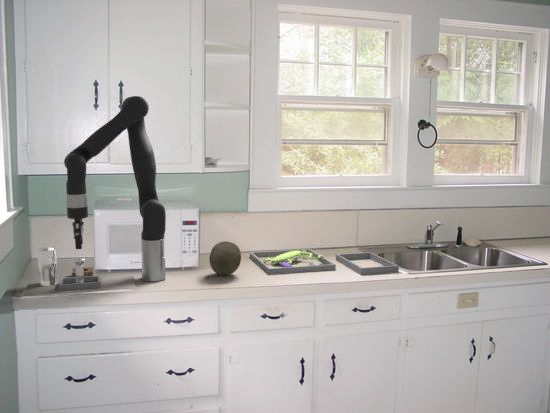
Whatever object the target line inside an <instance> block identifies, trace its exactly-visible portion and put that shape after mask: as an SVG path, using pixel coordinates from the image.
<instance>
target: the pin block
mask: <svg viewBox="0 0 550 413" xmlns="http://www.w3.org/2000/svg"><path fill="white" fill-rule="evenodd" d="M83 269H84V277H85V276H94V267H93V266H88V267H86V266H84V267H83ZM71 277H76V267H73V268H72V271H71Z"/></svg>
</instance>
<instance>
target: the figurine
mask: <svg viewBox="0 0 550 413" xmlns="http://www.w3.org/2000/svg"><path fill="white" fill-rule="evenodd" d="M302 254H303V255H302ZM305 255H307V256H308V258H309V259H310V260H317V259H319V258H321V257H322V258H323V257H324V255H323V254H319V256H318V257H312V255H313V254H312V253H308V252H306V251H305V250H303V251H302V252H301V251H291V252H287V253H284V254H281V255H279V256H274V258H271V256H270V257H267V258H266V259H264V260H262V261H263V262H264V263H265V264H266V263H267V262H270V261H271V262H272V263H275V264H276V265H280V266H281V267H293V261H292V260H291V259H294V258H295V257H299V258H300V257H301V256H302V257H304V256H305Z"/></svg>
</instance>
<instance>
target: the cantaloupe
mask: <svg viewBox="0 0 550 413" xmlns="http://www.w3.org/2000/svg"><path fill="white" fill-rule="evenodd" d="M208 261H209V264H210V268H211V269H212V271H213V272H214V273H215V274H216V275H218V276H221V277H227V276H229V275H232V274H234V273H235V272H236V271H237V270H238V269H239V267H240V265H241V261H242V253H241V249H240V247H239V246H238V245H237V244H236V243H234V242H232V241H220V242H218V243H216V244H215V245H214V246H213V247H212V248H211V251H210V254H209V260H208Z"/></svg>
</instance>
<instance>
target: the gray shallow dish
mask: <svg viewBox="0 0 550 413" xmlns="http://www.w3.org/2000/svg"><path fill="white" fill-rule="evenodd" d="M368 259H369V260H372V261H373V262H375V261H376V262H375V263H377V262H378V263H377V264H379V263H380V264H379V265H380V266H368V267H362V266H360V265H358V264H356V263H354V262H352V260H353V261H354V260H368ZM335 261H336V262H338V263H339V264H341V265H343V266H345V267H346V268H348V269H350V270H351V271H353V272H355V273H357V274H358V275H360V276H364V275H365V276H367V275H378V274H379V273H382V274H391V273H390V272H396V273H399V272H398V271H400V265H398V264H396V263H395V262H392V261H390V260H388V259H385V258H383V257H381V256H379V255H377V254H375V253H373V252H371V251H367V252H352V253H351V252H350V253H337V254H335ZM381 264H382V265H381ZM383 265H384V266H383Z"/></svg>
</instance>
